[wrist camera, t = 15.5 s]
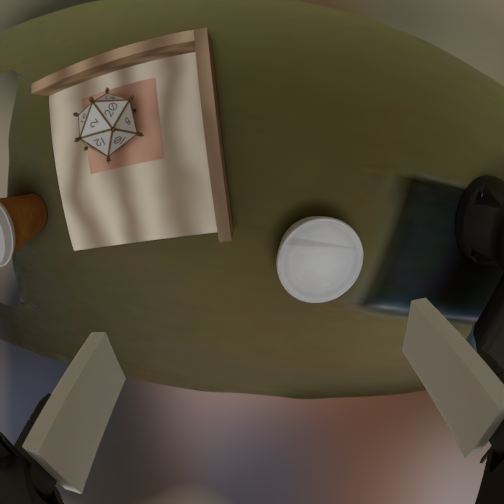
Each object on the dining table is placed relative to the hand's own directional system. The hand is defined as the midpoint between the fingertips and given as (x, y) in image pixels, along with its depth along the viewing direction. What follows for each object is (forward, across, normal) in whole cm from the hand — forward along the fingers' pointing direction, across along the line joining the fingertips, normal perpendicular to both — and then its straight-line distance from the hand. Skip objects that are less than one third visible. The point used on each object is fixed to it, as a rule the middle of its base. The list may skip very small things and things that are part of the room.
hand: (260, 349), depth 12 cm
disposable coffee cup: (+29, +34, -4) cm, 45 cm away
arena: (+29, +15, -10) cm, 34 cm away
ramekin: (+29, -8, +7) cm, 31 cm away
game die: (+28, +16, -13) cm, 35 cm away
